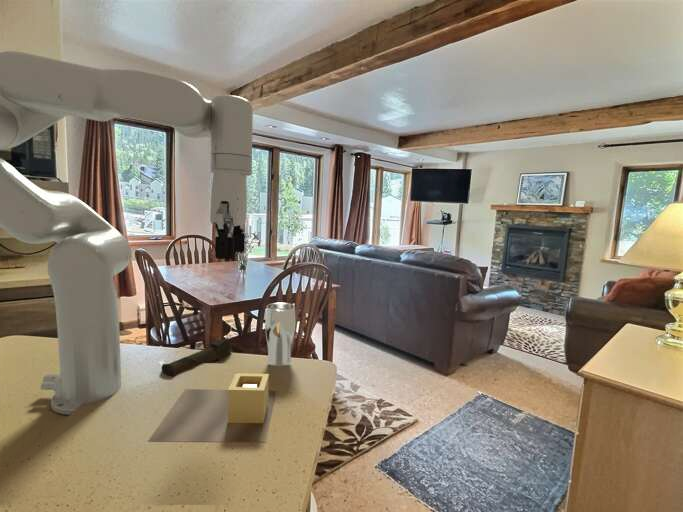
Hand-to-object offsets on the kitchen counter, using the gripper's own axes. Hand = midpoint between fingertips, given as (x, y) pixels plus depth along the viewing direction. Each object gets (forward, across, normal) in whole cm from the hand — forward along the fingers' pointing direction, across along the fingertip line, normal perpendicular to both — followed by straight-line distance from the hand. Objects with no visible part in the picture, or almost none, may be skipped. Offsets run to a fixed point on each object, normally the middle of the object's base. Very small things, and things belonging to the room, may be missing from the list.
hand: (230, 254), depth 72 cm
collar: (+27, +11, +6) cm, 30 cm away
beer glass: (+28, -11, +9) cm, 32 cm away
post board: (+28, +11, +1) cm, 30 cm away
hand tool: (+29, -11, -10) cm, 32 cm away
